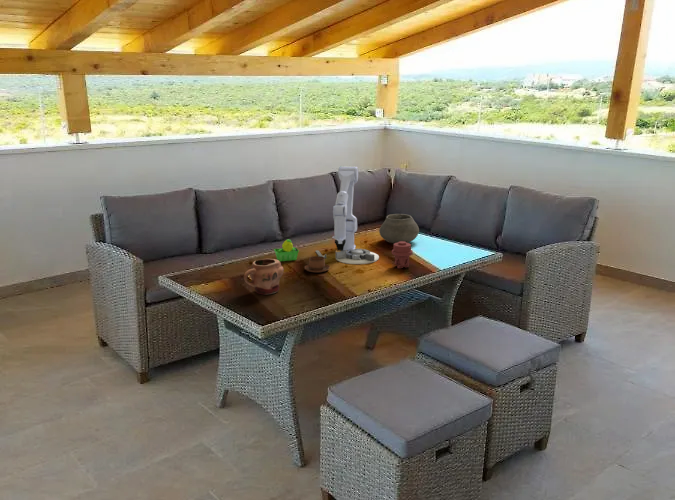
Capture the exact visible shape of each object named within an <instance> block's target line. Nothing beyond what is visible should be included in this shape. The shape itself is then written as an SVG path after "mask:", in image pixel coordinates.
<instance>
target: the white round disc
mask: <svg viewBox="0 0 675 500" xmlns="http://www.w3.org/2000/svg"><path fill="white" fill-rule="evenodd" d="M362 250H363V249H362ZM362 250H353V251H351V254H356V255H361V254H363V251H362ZM335 260H336V261H337V262H339V263H342V264H347V265H348V264H349V265H366V264H372V263H375V262H377V261H378V260H380V256H379V254H377V252H376V253H375V252H373V251H370V253H366V254H365V259H360V260H357V259H348V258H340V259H336V258H335Z"/></svg>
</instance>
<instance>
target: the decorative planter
mask: <svg viewBox="0 0 675 500" xmlns="http://www.w3.org/2000/svg"><path fill="white" fill-rule="evenodd" d="M284 270H285V269H284V267H283V266H282V263H281V261H279V260H278V259H277V258H276V259H275V258H263V259H257V260H254V261H253V262H252V264H251V268H250V269H248V270H247V271H245V272H244V275H243V281H244V282H245V283H246V284H247V285H248V286H250V287H253V288H254V291H255V292H256V294H259V295H266V296H267V295H273V294H275V293H278V292H279V291H280V279H281V278H282V276H283V275H284ZM248 277H250V279H251V282H250V281H249V280H248Z"/></svg>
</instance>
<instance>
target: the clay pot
mask: <svg viewBox="0 0 675 500" xmlns="http://www.w3.org/2000/svg"><path fill="white" fill-rule="evenodd" d="M378 231H379V235H380V237H381V238H382V239H383V240H384V241H385V242H388V243H390V244H394V243H398V242H400V241H404V242H406V243H410V242H412V241H414V240H415V239H416V238H417V237H418V235H419V233H420V228H419V226H418V223H417V222H416V221H415V220H414V218H413V217H412V216H411V215H410V214H405V213H393V214H391V213H390V214H388V215H386V217H385V219H384V222H383V223H382V224H381V226H380V227H379V230H378Z"/></svg>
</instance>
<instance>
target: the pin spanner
mask: <svg viewBox="0 0 675 500" xmlns="http://www.w3.org/2000/svg"><path fill="white" fill-rule="evenodd" d="M315 253H316V255H317V256H321V257H324V258H325V259H328V258H327V254H326V253H325V254H324V255H323V254H322V253H321V252H320V250H317V249H316V250H315Z"/></svg>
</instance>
